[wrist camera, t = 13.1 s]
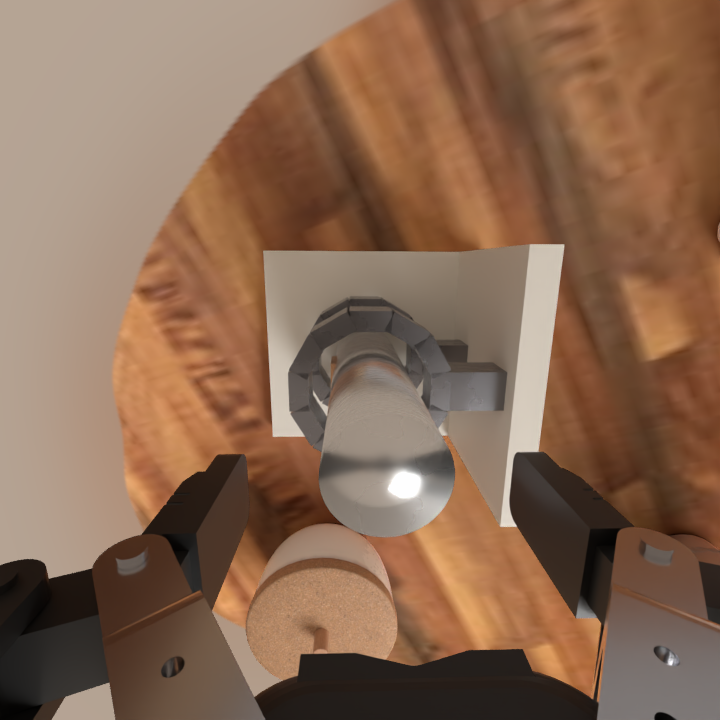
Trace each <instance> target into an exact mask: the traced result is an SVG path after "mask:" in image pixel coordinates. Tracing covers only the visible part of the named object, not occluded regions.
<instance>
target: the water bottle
mask: <svg viewBox="0 0 720 720" xmlns="http://www.w3.org/2000/svg"><path fill="white" fill-rule="evenodd" d="M717 237H718V240H719V241H720V224H719V225H718V235H717Z"/></svg>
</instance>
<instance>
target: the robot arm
mask: <svg viewBox="0 0 720 720" xmlns="http://www.w3.org/2000/svg"><path fill="white" fill-rule="evenodd" d="M509 505H510V512H511V515H512V518H513V521H514V522H515V524H516V525H517V527H518V529H519V530H520V532H521V533H522V535H523V536H524V538H525V540H526V541H527V543H528V544H529V546H530V547H531V549H532V550H533V552H534V554H535V555H536V557H537V558H538V560H539V561H540V563H541V564H542V566H543V568H544V569H545V571H546V572H547V574H548V575H549V577H550V579H551V580H552V582H553V583H554V585H555V586H556V588H557V589H558V591H559V593H560V594H561V596H562V597H563V599H564V600H565V602H566V604H567V605H568V607H569V608H570V610H571V611H572V613H573V614H574V616H575V618H598V619H599V621H600V622H601V628H600V633H599V640H598V647H597V654H596V662H595V669H594V676H593V684H592V691H591V698H590V697H589V696H587V695H586V694H584V693H583V692H581V691H579V690H577V689H576V688H574V687H572V686H570V685H568V684H566V683H564V682H562V681H560V680H558V679H555V678H553V677H550V676H547V675H544V674H542V673H538V672H534V671H532V669H531V667H530V665H529V662H528V660H527V658H526V656H525V654H524V651H523V649H509V650H468V651H465V652H462V653H458V654H455V655H452V656H448V657H445V658H442V659H439V660H435V661H432V662H429V663H426V664H422V665H418V666H410V665H405V664H401V663H397V662H392V661H388V660H384V659H380V658H375V657H371V656H367V655H363V654H358V653H326V654H301V655H300V663H299V670H298V675H297V676H294V677H291V678H288V679H286V680H283V681H281V682H279V683H277V684H275V685H273V686H271V687H269V688H268V689H266V690H264V691H262V692H261V693H259V694H258V695H257V696H255V697H254V696H253V694H252V692H251V690H250V688H249V686H248V684H247V682H246V680H245V678H244V676H243V674H242V672H241V669H240V667H239V665H238V664H237V661H236V659H235V657H234V655H233V653H232V651H231V649H230V647H229V645H228V643H227V641H226V639H225V637H224V635H223V633H222V631H221V629H220V627H219V625H218V623H217V621H216V619H215V617H214V615H213V613H212V609H213V607H214V604H215V602H216V599H217V597H218V594H219V592H220V589H221V587H222V584H223V582H224V579H225V577H226V575H227V572H228V570H229V567H230V565H231V562H232V560H233V557H234V555H235V552H236V550H237V547H238V545H239V542H240V540H241V537H242V535H243V532H244V530H245V527H246V525H247V522H248V517H249V508H250V501H249V487H248V474H247V461H246V457H245V455H244V454H225V455H217V456H216V457H215V459H214V460H213V462H212V463H211V465H210V466H209V467H208V469H207V470H206V472H197V473H195V474H194V475H192V476H191V477H189V478H188V479H186V480H185V481H183V482H182V483H181V485H180V486H179V487H178V489H177V490H176V491H175V492H174V495H172V496H171V498H170V499H169V500H168V501H167V504H166V505H164V506H163V508H162V509H161V510H160V512H159V513H158V514H157V515H156V517H155V518H154V519H153V521H152V522H151V523H150V524H149V526H148V527H147V528H146V530H145V531H144V532H143V533H142V535H138V536H134V537H131V538H128V539H125V540H123V541H121V542H118V543H117V544H115V545H113V546H111V547H110V548H108V549H107V550H106V551H104V552H103V553H102V554H101V555H100V556H99V557H98V558H97V560H96V561H95V563H94V565H93V568H92V569H88V570H85V571H81V572H76V573H72V574H67V575H63V576H59V577H55V578H51V579H49V578H48V573H47V569H46V566H45V564H44V563H43V562H41V561H39V560H34V559H24V560H17V561H13V562H10V563H5V564H3V565H0V720H52V718H53V716H54V715H55V713H56V711H57V709H58V708H59V706H60V705H61V703H62V701H63V699H64V698H65V697H66V696H69V695H72V694H75V693H78V692H81V691H84V690H87V689H90V688H93V687H96V686H100V685H103V684H106V683H110V689H111V695H112V702H113V708H114V714H115V720H720V550H719V549H718V548H716V547H715V546H714V545H712V544H711V543H710V542H708V541H706V540H705V539H703V538H701V537H697V536H694V535H685V534H680V535H671V536H668V535H665V534H663V533H660V532H657V531H654V530H651V529H646V528H640V527H634V526H633V525H632V524H631V523H630V522H629V521H628V520H627V519H626V518H624V517H623V516H622V515H621V514H620V513H619V512H618V511H617V510H616V509H615V508H614V507H612V506H611V505H610V504H609V503H608V502H607V501H606V500H603V497H602V496H600V495H599V494H598V493H597V492H596V491H593V488H592V487H591V486H590V485H588V484H587V483H586V482H585V481H584V480H583V479H582V478H581V477H579V476H577V475H575V474H573V473H571V472H570V471H568V470H566V469H564V468H560V467H559V466H558V465H557V464H556V463H555V462H554V461H553V460H552V459H551V458H550V457H549V456H548V455H547V454H546V453H544V452H517V453H516V454H515V456H514V459H513V467H512V477H511V487H510V497H509Z"/></svg>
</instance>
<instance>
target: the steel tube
mask: <svg viewBox="0 0 720 720" xmlns="http://www.w3.org/2000/svg"><path fill="white" fill-rule="evenodd" d="M454 480H455V468H454V461H453V458H452V455H451V452H450V450H449V448H448V446H447V444H446V442H445V441H444V439H443V437H442V435H441V433H440V431H439V430H438V428H437V426H436V424H435V422H434V420H433V419H432V417H431V415H430V413H429V411H428V410H427V408H426V406H425V404H424V402H423V400H422V399H421V397H420V395H419V393H418V391H417V389H416V388H415V386H414V384H413V382H412V380H411V378H410V377H409V375H408V373H407V371H406V369H405V368H404V366H403V364H402V362H401V360H400V358H399V357H398V355H397V353H396V351H395V349H394V347H393V346H392V344H391V342H390V340H389V338H388V336H387V335H386V333H385V332H353V333H351V334H350V335H348V336H346V337H344V338H343V339H341V340H339V341H338V343H337V350H336V356H332V358H331V392H330V399H329V405H328V412H327V419H326V426H325V433H324V440H323V447H322V454H321V461H320V468H319V487H320V491H321V495H322V498H323V500H324V502H325V504H326V506H327V508H328V509H329V511H330V512H331V513H332V514H333V516H334V517H335V518H336V519H337V520H338V521H340V522H341V523H342V524H344V525H345V526H347V527H348V528H350V529H352V530H354V531H356V532H359V533H361V534H365V535H368V536H374V537H395V536H401V535H405V534H408V533H411V532H413V531H416V530H418V529H420V528H422V527H423V526H425V525H427V524H428V523H429V522H431V521H432V520H433V519H434V518H435V517H436V516H437V515H438V514H439V513H440V512H441V511H442V509H443V508H444V507H445V505H446V503H447V502H448V500H449V498H450V495H451V493H452V490H453V486H454Z"/></svg>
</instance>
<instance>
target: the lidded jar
mask: <svg viewBox="0 0 720 720" xmlns="http://www.w3.org/2000/svg"><path fill="white" fill-rule="evenodd" d="M397 629H398V628H397V615H396V609H395V606H394V602H393V597H392V592H391V587H390V583H389V579H388V576H387V572H386V569H385V567H384V565H383V563H382V560H381V558H380V556H379V554H378V553H377V551H376V550H375V549H374V547H373V546H372V545H371V543H370V542H369V541H368V540H367V539H366V538H364V537H363V536H362V535H360V534H359V533H358V532H356V531H354V530H352V529H350V528H348V527H345V526H342V525H338V524H331V523H324V524H316V525H311V526H308V527H305V528H303V529H301V530H299V531H297V532H295V533H294V534H292V535H291V536H289V537H288V538H287V539H286V540H285V541H284V542H283V543H282V544H281V545H280V546H279V547H278V548H277V549H276V550H275V552H274V553H273V555H272V556H271V558H270V560H269V561H268V563H267V565H266V567H265V569H264V571H263V573H262V576H261V578H260V580H259V583H258V586H257V589H256V592H255V595H254V597H253V600H252V602H251V604H250V607H249V611H248V615H247V620H246V635H247V641H248V643H249V646H250V648H251V650H252V652H253V654H254V656H255V658H256V659H257V660H258V662H259V663H260V664H261V665H262V666H263V667H264V668H265V669H267V671H269V672H270V673H271V674H272V675H274V676H276V677H278V678H279V679H281V680H286V679H288V678H291V677H294V676H297V675H298V670H299V663H300V655H301V654H326V653H358V654H363V655H367V656H371V657H375V658H380V659H384V660H385V659H386V658H387V657H388V655H389V653H390V652H391V650H392V648H393V646H394V643H395V640H396V636H397Z"/></svg>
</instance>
